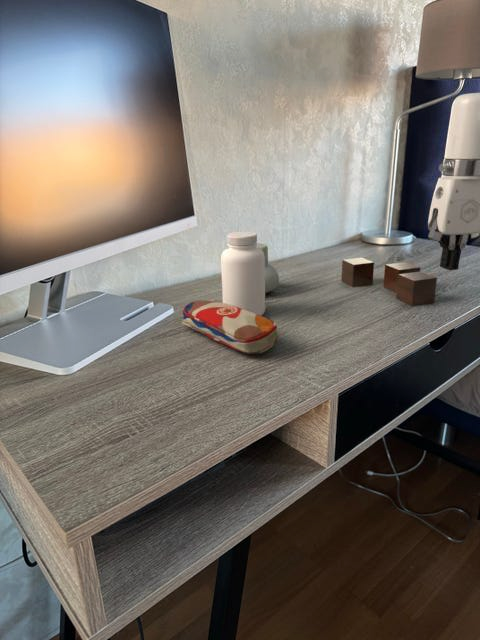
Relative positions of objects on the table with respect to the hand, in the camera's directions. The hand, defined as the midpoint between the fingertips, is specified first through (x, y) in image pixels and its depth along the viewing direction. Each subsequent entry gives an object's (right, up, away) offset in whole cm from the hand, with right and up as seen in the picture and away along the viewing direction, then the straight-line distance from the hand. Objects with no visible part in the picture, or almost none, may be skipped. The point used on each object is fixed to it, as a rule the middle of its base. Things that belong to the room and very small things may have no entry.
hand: (448, 268), depth 87 cm
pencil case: (-43, -13, -13) cm, 47 cm away
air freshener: (-38, -4, +9) cm, 39 cm away
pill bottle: (-40, -9, -3) cm, 41 cm away
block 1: (-15, -2, +12) cm, 19 cm away
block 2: (-7, -6, 0) cm, 9 cm away
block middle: (-7, -4, +7) cm, 11 cm away
